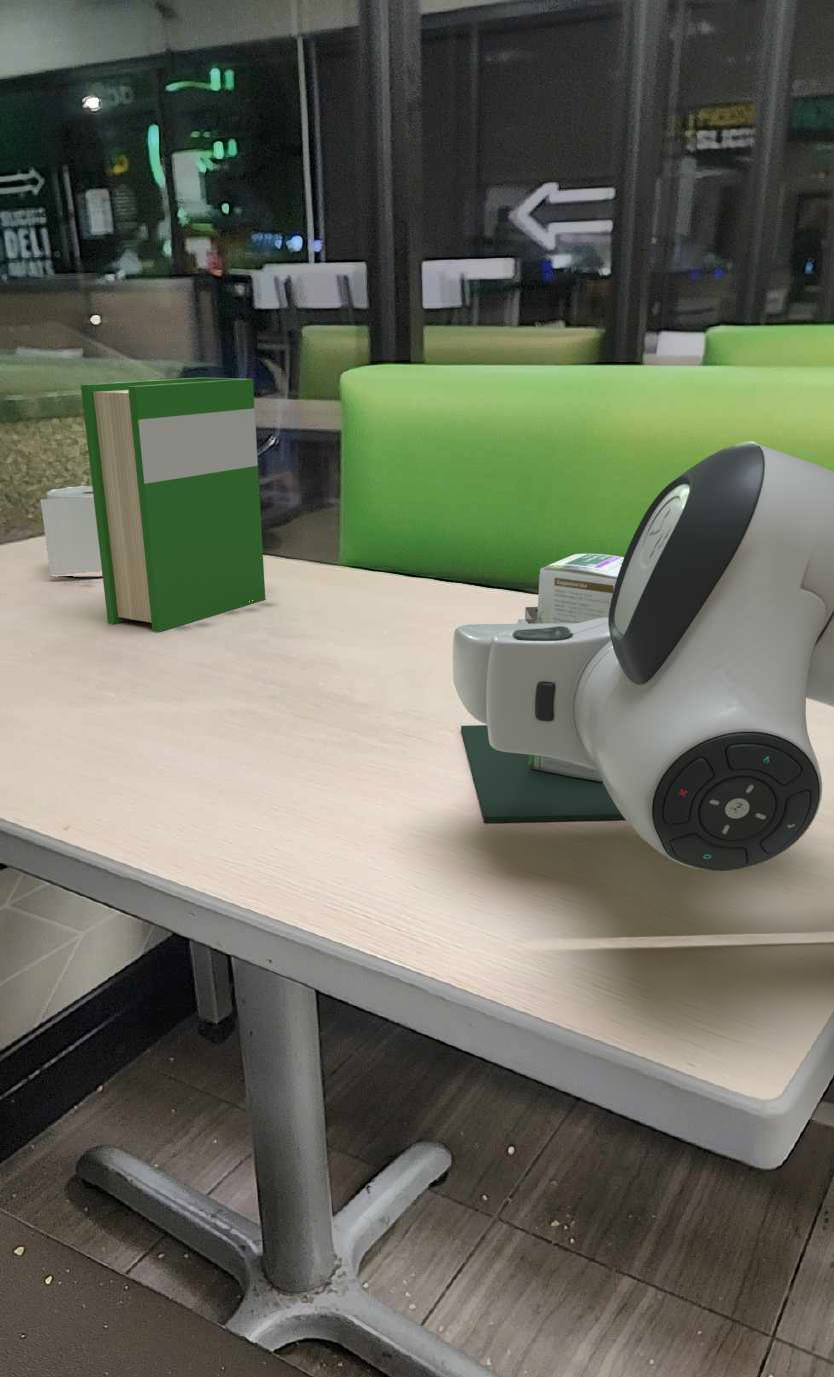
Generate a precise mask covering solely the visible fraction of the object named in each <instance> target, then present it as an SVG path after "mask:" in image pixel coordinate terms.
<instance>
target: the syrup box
mask: <svg viewBox="0 0 834 1377" xmlns="http://www.w3.org/2000/svg"><path fill="white" fill-rule="evenodd" d="M624 557H625V556H620V555H619V556H618V555H611V554H602V553H575V554H572V555H570V556H567V557H565V558H562V559H560V560H558V561H555V562H552V563H550V564H547V565H546V566H543V567H541V568H540V569H539V577H538V578H539V579H538V596H537V607H538V612H537V619H540V620H541V622H542V623H543V624H545V623H582V622H585V621H589V620H593V619H598V618H605V617H609V609H610V604H611V600H612V595H613V591H614V587H615V584H616V581H617V577H618V574H619V571H620V568H621V565H622V562H623V559H624ZM529 766H530V767H531V768H533V769H537V770H542V771H547V772H552V773H557V774H562V775H567V776H572V777H578V778H584V779H589V780H594V781H600V782H601V781H602V779H601V777H600V775H599V772H598V770H594V769H590V768H587V767H584V766H581V765H578V764H575V763H571V762H567V761H563V760H559V759H552V758H546V757H539V756H532V755H529Z"/></svg>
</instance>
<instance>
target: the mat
mask: <svg viewBox="0 0 834 1377" xmlns="http://www.w3.org/2000/svg"><path fill="white" fill-rule="evenodd" d="M460 731H461V736H462V739H463V740H462V741H463V743H464V747H465V751H466V754H467V760H468V763H469V768H470V771H471V774H472V779H473V782H474V787H475V791H476V795H477V799H478V803H479V808H480V810H481V816H482V819H483V822H484V823H516V822H518V823H520V822H523V823H525V822H562V821H563V822H565V821H568V822H569V821H604V820H605V821H608V820H609V821H611V820H626V819H625V818H624V817H623V815H622V814H621V813H620V811H619V810H618V808H617V807H616V805H615V803H614V802H613V800H612V798H611V797H610V795H609V793H608V791H607V789H606V787H605V785H604V784H603V782H602V781H601V782H600V781H594V780H589V779H584V778H578V777H572V776H567V775H562V774H557V773H552V772H547V771H542V770H537V769H533V768H531V767H530V766H529V755H524V754H518V753H510V752H502V751H499V750H496V749H494V748H493V747H492V746H491V745H490V743H489V737H488V727H487V725H486V724H478V725H477V724H474V725H471V724H470V725H469V724H468V725H460Z"/></svg>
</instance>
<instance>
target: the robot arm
mask: <svg viewBox="0 0 834 1377" xmlns="http://www.w3.org/2000/svg"><path fill="white" fill-rule="evenodd" d="M623 557H624V559H623V562H622V565H621V568H620V571H619V574H618V577H617V581H616V584H615V587H614V591H613V595H612V600H611V604H610V609H609V617H605V618H598V619H593V620H589V621H585V622H582V623H545V624H543V623H542V622H541V620H540V619H525V618H522V619H521V618H518V619H517V623H487V624H486V623H483V624H482V623H470V624H469V623H467V624H463V625H460V626H458V627H456V628H455V629H454V632H453V637H452V638H453V639H452V679H453V684H454V688H455V691H456V694H457V696H458V697H459V700H460V701H461V703H462V705H463V706H464V708H465V709H466V711H467V712H468V714H469V715H470V716H471V717H473V718H474V719H475V720H476V721H478V722H480V723H482V724H483V725H487V727H488V737H489V743H490V745H491V746H492V747H493V748H494V749H496V750H499V751H502V752H510V753H518V754H524V755H532V756H539V757H546V758H552V759H559V760H563V761H567V762H571V763H575V764H578V765H581V766H584V767H587V768H590V769H594V770H598V772H599V775H600V777H601V779H602V782H603V784H604V785H605V787H606V789H607V791H608V793H609V795H610V797H611V798H612V800H613V802H614V803H615V805H616V807H617V808H618V810H619V811H620V813H621V814H622V815H623V817H624V818H625V819H624V820H625V821H626V823H627V824H629V826H630V827H631V828H632V829H633V830H634V832H636V834H638V836H639V837H640V838H641V839H643V841H645V842H646V843H647V844H648V845H649V846H651V847H652V848H653V849H654V850H656V851H657V852H658V853H660V854H661V855H663V856H664V857H666V858H668V859H669V860H671V861H673V862H675V863H677V864H680V865H683V866H685V867H689V868H692V869H697V870H705V871H713V872H726V871H737V870H742V869H746V868H750V867H754V866H757V865H760V864H762V863H765V862H768V861H770V860H771V859H774V858H776V857H778V856H779V855H782V854H783V853H784V852H786V851H787V850H788V849H790V848H791V847H792V846H794V845H795V844H796V843H797V842H798V841H799V840H800V839H801V838H802V837H803V836H804V835H805V834H806V833H807V831H808V830H809V829H810V827H811V825H812V824H813V822H814V820H815V818H816V817H817V814H818V812H819V809H820V807H821V806H820V805H821V801H822V796H823V779H822V772H821V767H820V764H819V761H818V758H817V756H816V752H815V750H814V747H813V744H812V742H811V739H810V735H809V732H808V724H807V699H808V700H810V701H814V702H817V703H821V704H823V705H825V706H826V705H827V706H830V707H833V708H834V470H831V469H829V468H827V467H824V466H821V465H819V464H817V463H813V462H812V461H808V460H805V459H802V458H800V457H796V456H793V455H790V454H788V453H785V452H782V451H780V450H776V449H774V448H771V447H767V446H764V445H761V444H758V443H757V442H756V441H743V442H739V443H736V444H733V445H729V446H727V447H725V448H722V449H720V450H718V451H716V452H714V453H712V454H711V455H709V456H707V457H706V458H705V457H704V458H703V459H702V460H700V461H698V462H697V463H696V464H694V465H693V466H692V467H690V468H689V469H687V470H686V471H685V472H683V473H681V474H680V475H679V476H677V478H675V479H673V481H671V482H670V483H668V484H667V485H666V486H665V487H664V488H663V489H662V490H661V491H660V492H659V493H658V494H657V496H656V497H655V498H654V499H653V501H652V503H651V504H650V505H649V507H648V508H647V510H646V511H645V513H644V515H643V516H642V519H641V520H640V521H639V524H638V526H637V528H636V530H635V532H634V534H633V536H632V538H631V541H630V543H629V545H628V547H627V549H626V552H625V554H624V556H623Z"/></svg>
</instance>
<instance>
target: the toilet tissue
mask: <svg viewBox="0 0 834 1377" xmlns="http://www.w3.org/2000/svg"><path fill="white" fill-rule="evenodd" d="M39 500H40V507H41V513H42V521H43V529H44V530H43V532H44V538H45V545H46V551H47V559H48V569H49V576H50V575H66V574H75V573H86V572H100V571H102V566H101V558H100V549H99V540H98V532H97V523H96V514H95V505H94V497H93V488H92V485H85V486H84V485H80V486H67V487H63V488H57V489H56V488H55V489H54V488H53V489H51V490H49V491H47V492H46V499H45V498H44V499H42V498H41V499H39ZM74 577H78V578H97V577H98V578H99V577H100V578H101V577H103V575H102V576H74Z"/></svg>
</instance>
